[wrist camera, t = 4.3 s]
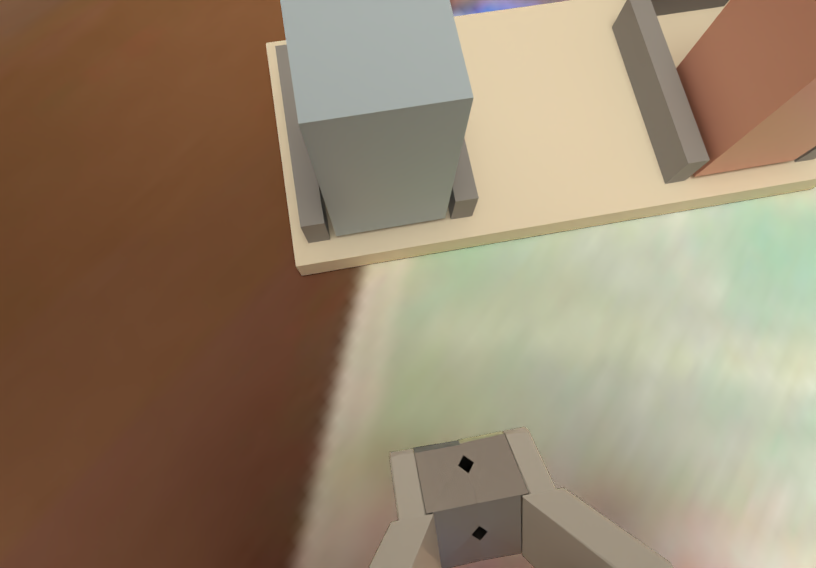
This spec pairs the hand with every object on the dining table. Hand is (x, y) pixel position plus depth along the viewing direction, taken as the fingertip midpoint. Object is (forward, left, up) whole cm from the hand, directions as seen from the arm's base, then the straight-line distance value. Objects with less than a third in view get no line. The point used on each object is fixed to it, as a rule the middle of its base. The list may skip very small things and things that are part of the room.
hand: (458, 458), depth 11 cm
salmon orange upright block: (+5, +20, -10) cm, 23 cm away
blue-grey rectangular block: (-8, +9, -10) cm, 15 cm away
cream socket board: (-3, +17, -12) cm, 20 cm away
